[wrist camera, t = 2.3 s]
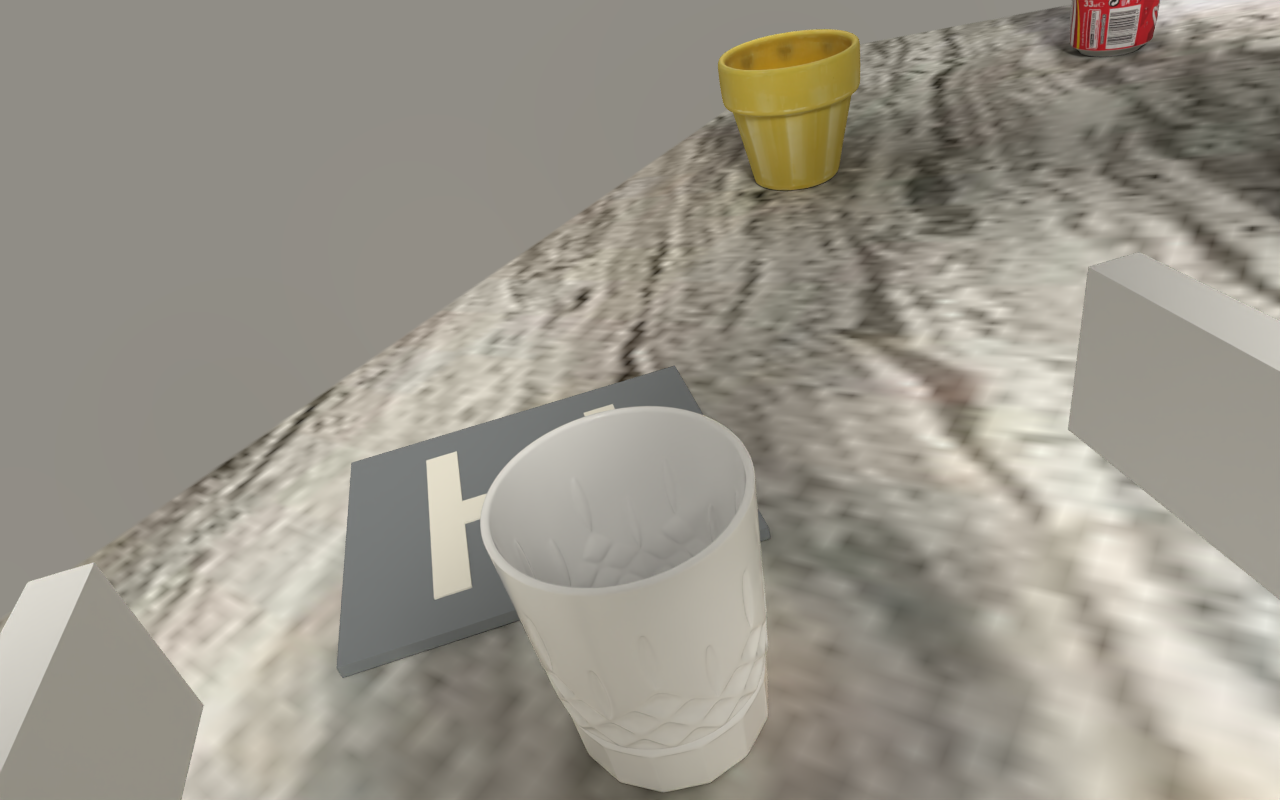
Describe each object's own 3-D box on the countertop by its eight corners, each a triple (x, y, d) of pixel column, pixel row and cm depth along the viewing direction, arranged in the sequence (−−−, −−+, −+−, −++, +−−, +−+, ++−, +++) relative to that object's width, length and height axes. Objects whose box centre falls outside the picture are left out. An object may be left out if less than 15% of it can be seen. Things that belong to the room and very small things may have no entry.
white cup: (519, 719, 30) (427, 513, 24) (669, 583, 34) (620, 379, 28) (678, 865, 25) (608, 645, 19) (834, 684, 29) (813, 458, 23)
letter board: (676, 374, 46) (674, 364, 46) (770, 538, 35) (768, 525, 34) (355, 471, 45) (350, 461, 44) (342, 677, 33) (335, 666, 33)
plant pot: (875, 188, 62) (871, 50, 57) (736, 210, 64) (719, 78, 58) (852, 143, 71) (847, 19, 65) (730, 163, 72) (715, 44, 67)
